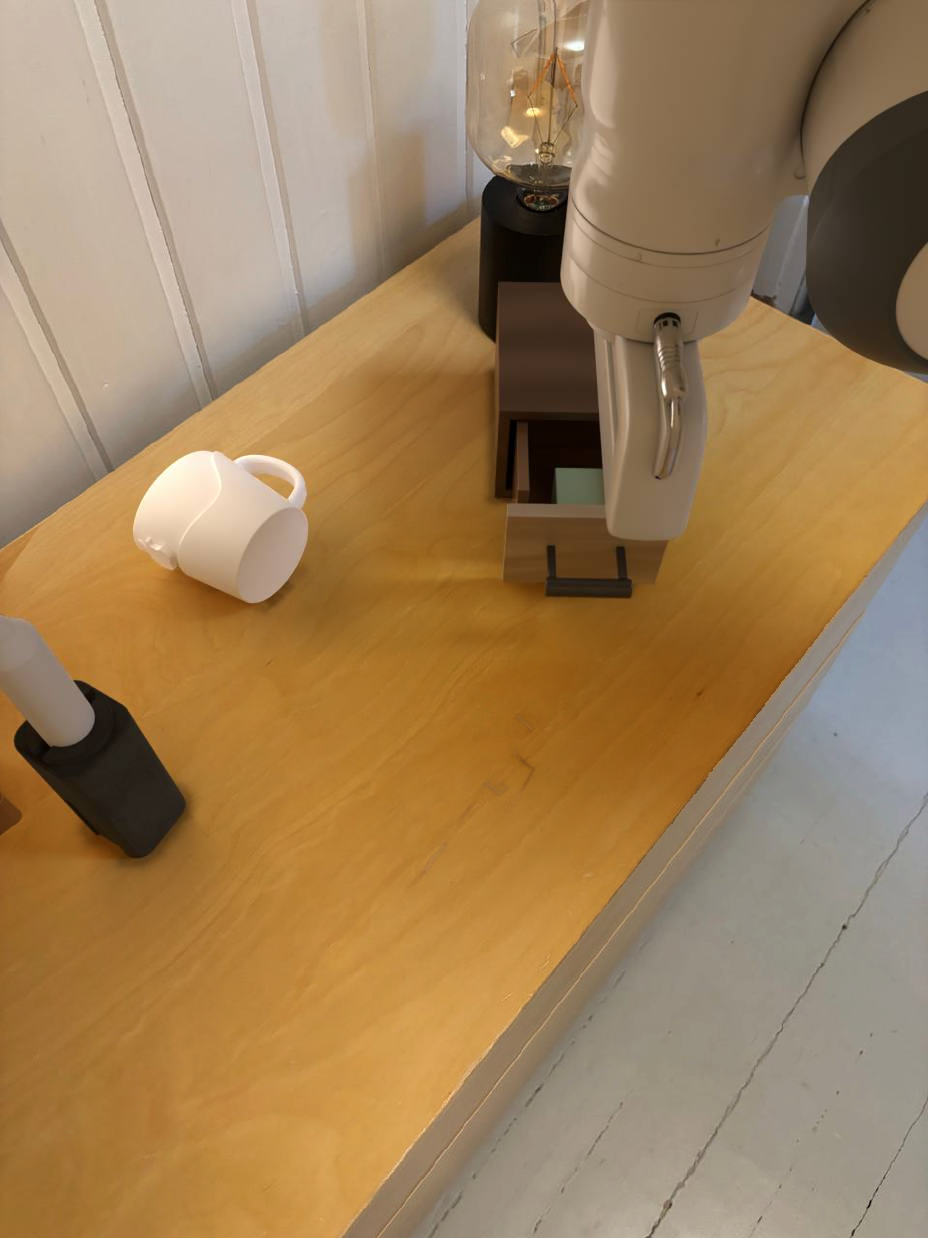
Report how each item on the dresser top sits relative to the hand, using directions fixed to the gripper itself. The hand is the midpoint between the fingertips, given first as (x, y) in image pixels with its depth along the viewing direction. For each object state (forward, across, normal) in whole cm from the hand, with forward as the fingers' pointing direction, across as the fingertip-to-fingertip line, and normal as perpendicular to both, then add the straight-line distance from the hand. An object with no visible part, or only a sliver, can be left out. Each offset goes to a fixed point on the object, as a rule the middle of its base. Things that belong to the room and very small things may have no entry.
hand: (617, 459), depth 54 cm
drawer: (+18, +9, 0) cm, 20 cm away
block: (+17, +9, 0) cm, 19 cm away
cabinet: (+19, +20, 0) cm, 28 cm away
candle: (+19, -15, +30) cm, 39 cm away
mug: (+19, +7, +26) cm, 33 cm away
